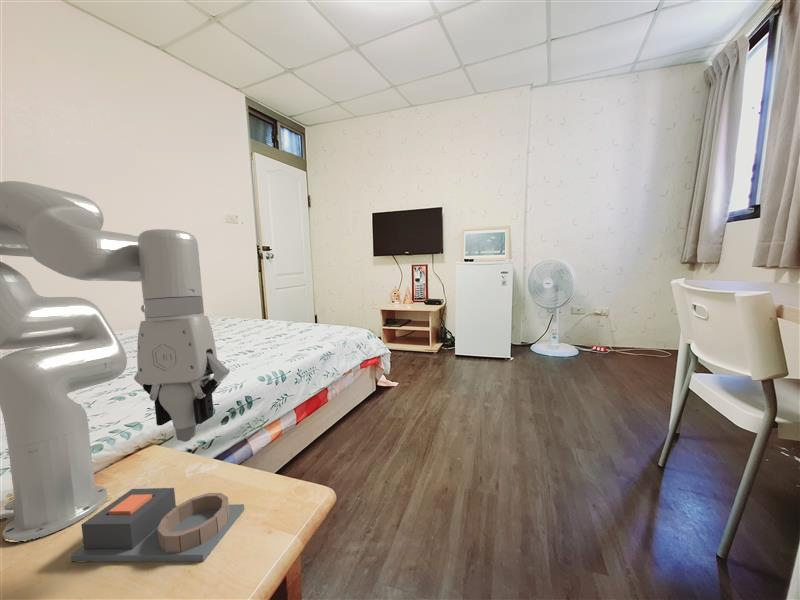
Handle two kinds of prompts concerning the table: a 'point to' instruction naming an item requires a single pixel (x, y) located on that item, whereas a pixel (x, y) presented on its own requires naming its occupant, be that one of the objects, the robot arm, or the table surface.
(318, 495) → the table surface
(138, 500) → the switch button
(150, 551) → the panel
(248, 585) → the table surface
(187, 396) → the lightbulb
